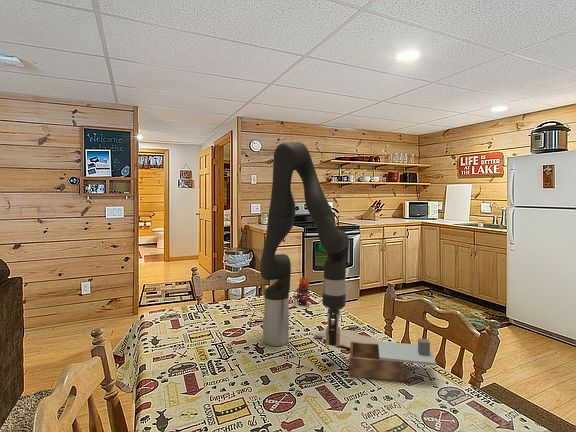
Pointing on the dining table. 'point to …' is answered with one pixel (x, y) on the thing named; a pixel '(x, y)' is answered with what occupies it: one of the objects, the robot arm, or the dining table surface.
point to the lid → (407, 352)
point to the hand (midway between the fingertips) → (332, 341)
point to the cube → (336, 336)
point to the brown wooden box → (373, 364)
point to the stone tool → (348, 337)
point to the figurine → (302, 292)
